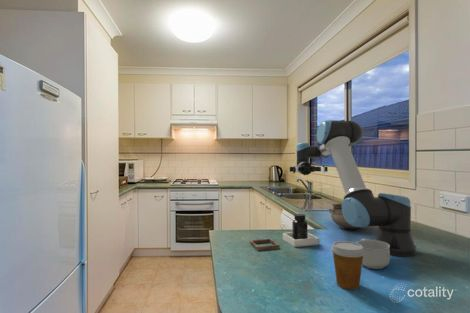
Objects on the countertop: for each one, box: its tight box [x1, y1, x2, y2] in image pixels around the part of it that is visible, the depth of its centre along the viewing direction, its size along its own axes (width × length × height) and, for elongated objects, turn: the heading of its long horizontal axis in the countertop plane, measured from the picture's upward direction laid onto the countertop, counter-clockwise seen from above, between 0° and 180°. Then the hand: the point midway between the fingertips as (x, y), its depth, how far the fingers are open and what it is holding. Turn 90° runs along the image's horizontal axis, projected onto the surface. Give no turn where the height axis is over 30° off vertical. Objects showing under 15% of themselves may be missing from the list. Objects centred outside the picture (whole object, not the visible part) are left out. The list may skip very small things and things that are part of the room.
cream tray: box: [282, 231, 320, 248], centre depth 128 cm, size 12×12×3 cm
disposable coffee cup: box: [330, 240, 365, 291], centre depth 85 cm, size 10×10×12 cm
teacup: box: [355, 238, 391, 270], centre depth 101 cm, size 14×11×8 cm
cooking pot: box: [327, 203, 361, 231], centre depth 152 cm, size 25×19×12 cm
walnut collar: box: [249, 238, 281, 252], centre depth 122 cm, size 10×10×2 cm
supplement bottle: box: [291, 213, 309, 240], centre depth 128 cm, size 7×7×12 cm
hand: (310, 169), depth 145 cm, fingers open, 13 cm apart
